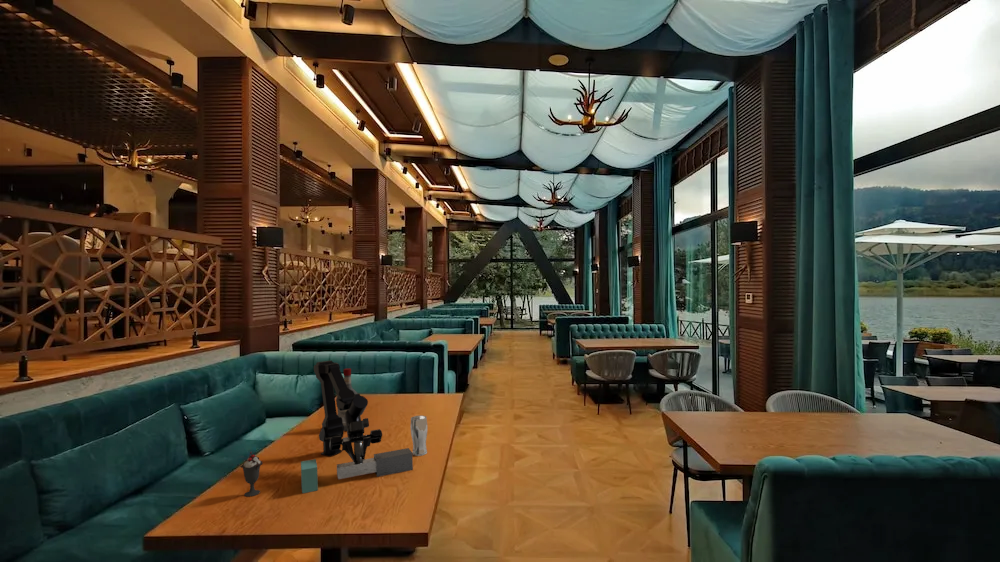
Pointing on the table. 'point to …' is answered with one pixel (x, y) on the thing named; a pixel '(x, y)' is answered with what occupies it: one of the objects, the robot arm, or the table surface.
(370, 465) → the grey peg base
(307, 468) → the socket block
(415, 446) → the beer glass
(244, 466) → the sundae
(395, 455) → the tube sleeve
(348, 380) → the liquor
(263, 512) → the table surface
